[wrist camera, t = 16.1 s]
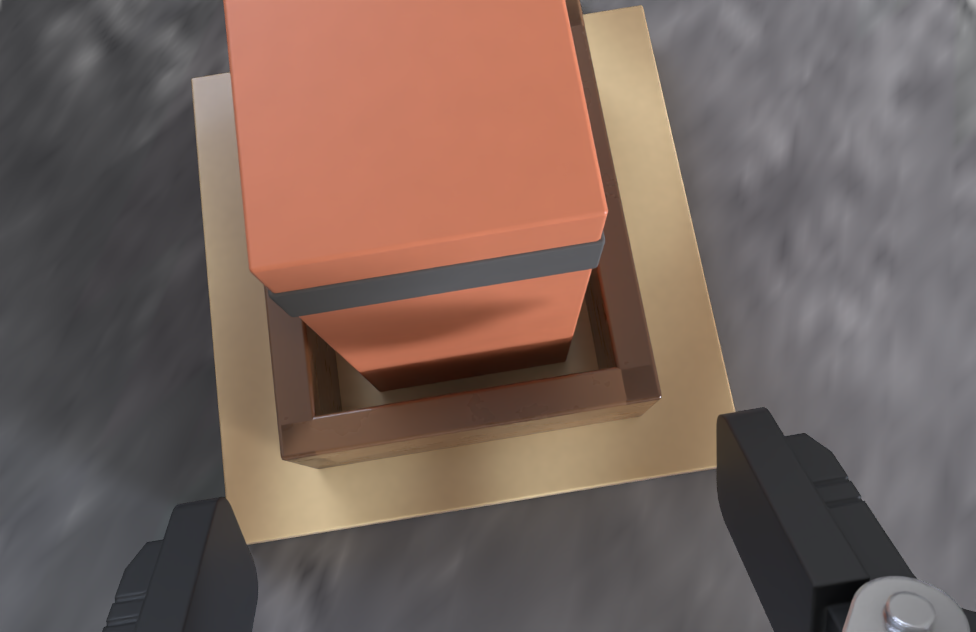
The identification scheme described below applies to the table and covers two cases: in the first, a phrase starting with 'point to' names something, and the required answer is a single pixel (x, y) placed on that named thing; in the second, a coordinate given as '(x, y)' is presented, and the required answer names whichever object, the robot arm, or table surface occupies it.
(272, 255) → the orange striped block
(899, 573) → the robot arm
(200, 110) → the base pad
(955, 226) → the table surface
